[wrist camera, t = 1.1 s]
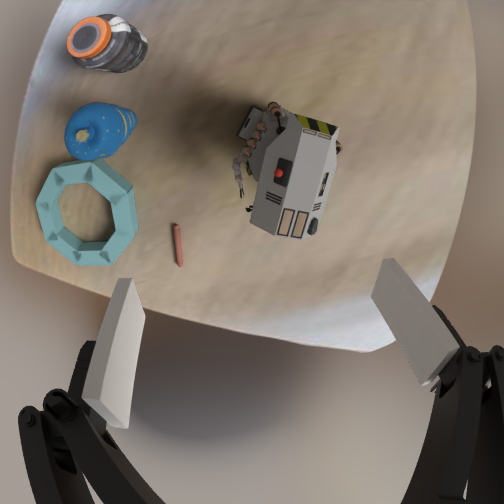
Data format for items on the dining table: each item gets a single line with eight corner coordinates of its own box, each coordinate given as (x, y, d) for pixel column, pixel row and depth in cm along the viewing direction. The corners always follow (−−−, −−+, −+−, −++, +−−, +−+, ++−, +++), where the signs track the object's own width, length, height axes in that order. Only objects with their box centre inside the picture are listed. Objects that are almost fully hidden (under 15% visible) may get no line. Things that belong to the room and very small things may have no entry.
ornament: (107, 130, 28) (42, 162, 15) (122, 92, 25) (59, 98, 13) (142, 143, 30) (94, 182, 17) (158, 105, 27) (116, 116, 15)
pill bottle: (145, 23, 21) (114, -5, 12) (151, 64, 24) (121, 51, 15) (99, 40, 21) (54, 25, 11) (106, 79, 24) (60, 79, 15)
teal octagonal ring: (38, 167, 28) (29, 173, 26) (129, 153, 30) (123, 158, 28) (60, 256, 36) (54, 265, 34) (143, 254, 38) (139, 264, 36)
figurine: (215, 175, 33) (216, 232, 21) (257, 93, 28) (290, 94, 16) (277, 202, 36) (312, 268, 24) (320, 128, 31) (385, 158, 19)
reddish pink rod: (173, 223, 36) (172, 226, 35) (179, 223, 36) (178, 226, 35) (178, 264, 40) (177, 267, 39) (183, 264, 40) (182, 267, 39)
